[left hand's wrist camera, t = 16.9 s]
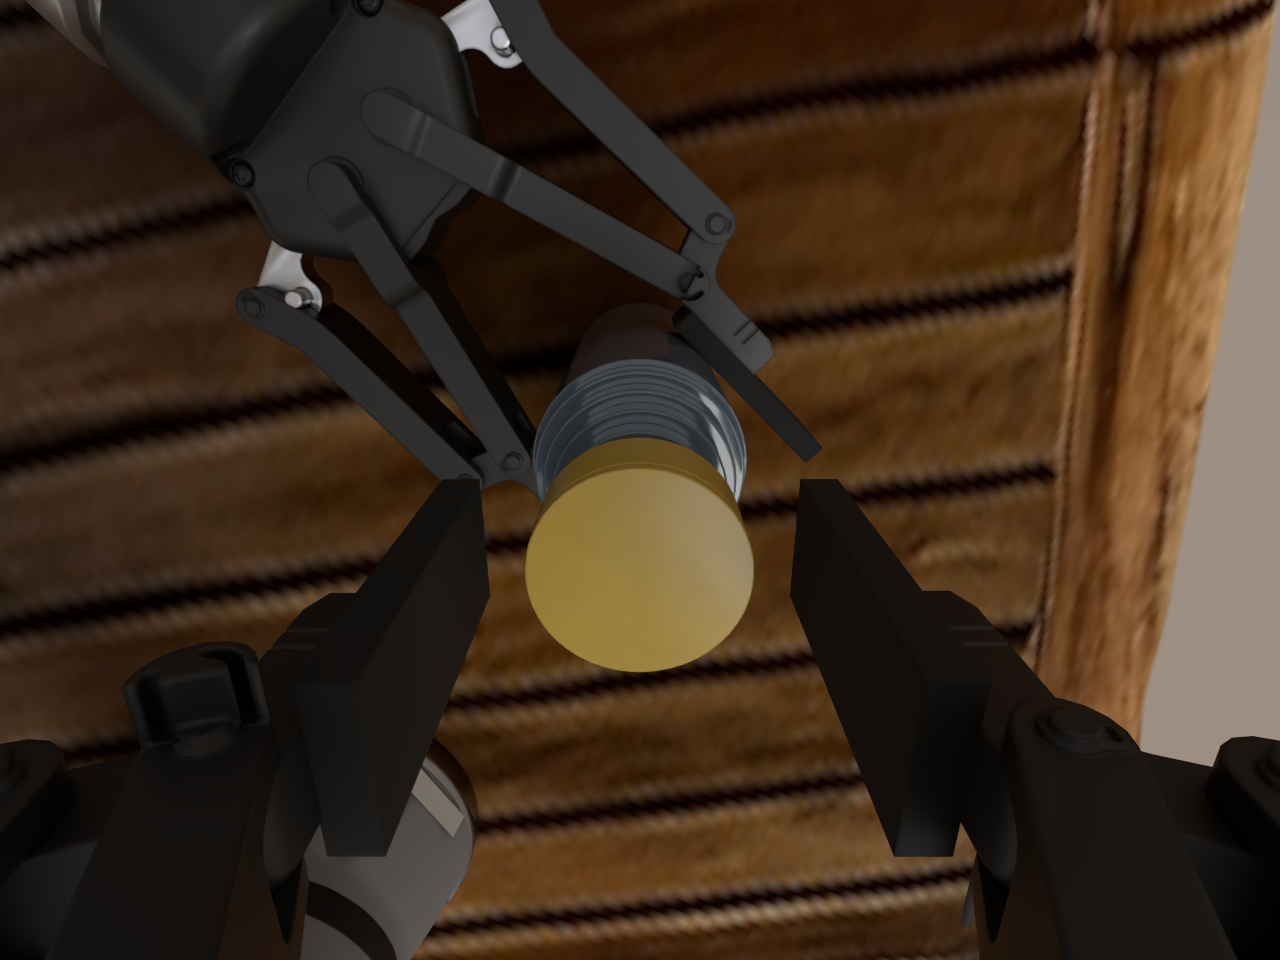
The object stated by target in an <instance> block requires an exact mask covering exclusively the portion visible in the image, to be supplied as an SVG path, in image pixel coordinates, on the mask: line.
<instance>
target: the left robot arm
mask: <svg viewBox="0 0 1280 960" xmlns="http://www.w3.org/2000/svg"><path fill="white" fill-rule="evenodd" d="M489 597H490V590H489V579H488V568H487V557H486V545H485V534H484V523H483V512H482V501H481V490H480V479H442V481H441V482H440V483H439V485H438V486H437V487H436V488H435V490H434V491H433V492H432V494H431V495H430V496H429V498H428V499H427V500H426V502H425V503H424V504H423V506H422V507H421V508H420V510H419V511H418V512H417V513H416V515H415V516H414V517H413V519H412V520H411V521H410V523H409V524H408V525H407V527H406V528H405V529H404V531H403V532H402V533H401V534H400V536H399V537H398V538H397V540H396V541H395V542H394V544H393V545H392V546H391V548H390V549H389V550H388V552H387V553H386V554H385V556H384V557H383V558H382V559H381V561H380V562H379V563H378V565H377V566H376V567H375V569H374V570H373V571H372V573H371V574H370V575H369V577H368V578H367V579H366V581H365V582H364V583H363V584H362V586H361V587H360V588H359V590H358V591H357V592H356V593H330V594H328V595H326V596H325V597H323V598H321V599H320V600H318V601H317V602H315V603H313V604H312V605H310V606H309V607H307V608H305V609H304V610H303V611H302V612H301V613H300V614H299V615H298V617H297V618H296V619H295V620H294V621H293V622H292V624H291V625H290V626H289V627H288V628H287V632H286V633H283V634H282V635H281V636H280V637H279V639H278V640H277V641H276V642H275V643H274V644H273V648H272V650H268V651H267V652H266V654H265V655H264V656H263V657H262V658H261V659H260V661H259V662H258V659H257V655H256V652H255V651H254V650H252V649H251V648H250V647H248V646H247V645H246V644H241V643H235V642H229V641H224V642H210V643H202V644H198V645H195V646H191V647H187V648H183V649H179V650H177V651H174V652H172V653H170V654H167V655H165V656H162V657H160V658H158V659H155V660H154V661H152V662H151V663H149V664H148V665H146V666H144V667H143V668H141V669H140V670H138V671H137V672H135V673H134V674H133V675H132V676H131V677H130V679H129V680H128V681H127V682H126V683H125V684H124V685H123V686H122V691H123V694H124V697H125V700H126V703H127V706H128V709H129V712H130V715H131V719H132V722H133V725H134V728H135V731H136V734H137V737H138V740H139V743H140V746H141V749H140V752H139V754H138V755H135V756H131V757H127V758H122V759H117V760H113V761H108V762H103V763H99V764H94V765H89V766H85V767H80V768H75V769H71V770H68V767H67V765H66V762H65V759H64V757H63V754H62V751H61V749H60V748H59V747H57V746H56V745H55V744H53V743H52V742H50V741H45V740H33V739H27V740H21V741H15V742H9V743H3V744H0V960H411V958H412V957H413V955H414V954H415V952H416V951H417V949H418V947H419V946H420V944H421V943H422V941H423V940H424V938H425V937H426V935H427V934H428V932H429V930H430V929H431V927H432V926H433V924H434V922H435V921H436V919H437V918H438V916H439V914H440V913H441V911H442V910H443V908H444V907H445V906H446V905H447V903H448V902H449V901H450V899H451V898H452V897H453V896H454V894H455V893H456V892H457V890H458V889H459V887H460V886H461V884H462V882H463V880H464V878H465V876H466V874H467V871H468V868H469V865H470V861H471V857H472V853H473V849H474V846H475V842H476V838H477V833H478V810H477V804H476V800H475V797H474V794H473V791H472V789H471V787H470V784H469V782H468V780H467V779H466V777H465V775H464V774H463V772H462V771H461V769H460V768H459V767H458V765H457V764H456V763H455V761H454V760H453V759H452V758H451V757H450V756H449V755H448V754H447V753H446V752H445V751H444V750H443V749H442V748H441V747H440V746H439V745H437V744H436V743H435V742H434V741H432V740H433V737H434V735H435V732H436V729H437V727H438V724H439V722H440V719H441V717H442V714H443V712H444V709H445V707H446V704H447V702H448V699H449V697H450V694H451V692H452V689H453V687H454V684H455V682H456V679H457V677H458V674H459V672H460V669H461V667H462V664H463V662H464V659H465V657H466V654H467V652H468V649H469V647H470V644H471V642H472V639H473V637H474V634H475V632H476V629H477V627H478V624H479V622H480V619H481V617H482V614H483V612H484V609H485V607H486V604H487V602H488V599H489ZM790 597H791V599H792V602H793V604H794V607H795V609H796V612H797V614H798V617H799V619H800V622H801V624H802V627H803V629H804V632H805V634H806V637H807V639H808V642H809V644H810V647H811V649H812V652H813V654H814V657H815V659H816V662H817V664H818V667H819V669H820V672H821V674H822V677H823V679H824V682H825V684H826V687H827V689H828V692H829V694H830V697H831V699H832V702H833V704H834V707H835V709H836V712H837V714H838V717H839V719H840V722H841V724H842V727H843V729H844V732H845V735H846V737H847V740H848V742H849V745H850V747H851V750H852V752H853V755H854V757H855V760H856V762H857V765H858V767H859V770H860V772H861V775H862V777H863V780H864V782H865V785H866V787H867V790H868V792H869V795H870V797H871V800H872V802H873V805H874V807H875V810H876V812H877V815H878V817H879V820H880V822H881V825H882V827H883V830H884V832H885V835H886V837H887V840H888V842H889V845H890V847H891V850H892V852H893V855H894V857H953V854H954V849H955V845H956V840H957V836H958V831H959V827H960V822H961V823H962V825H963V827H964V829H965V831H966V833H967V834H968V836H969V838H970V840H971V842H972V844H973V846H974V848H975V850H976V851H977V853H976V857H975V862H974V866H973V870H972V874H971V878H970V883H969V887H968V891H967V895H966V900H965V904H964V908H963V913H962V920H961V926H965V927H968V928H970V927H971V923H972V919H973V915H974V912H975V920H976V929H977V938H978V946H979V955H980V960H1280V741H1278V740H1272V739H1266V738H1260V737H1255V736H1248V737H1235V738H1231V739H1229V740H1228V741H1227V742H1225V743H1224V744H1222V745H1221V746H1220V749H1219V751H1218V754H1217V757H1216V759H1215V762H1214V765H1213V767H1210V766H1205V765H1200V764H1196V763H1191V762H1186V761H1182V760H1177V759H1172V758H1167V757H1163V756H1158V755H1153V754H1149V753H1146V752H1142V751H1141V750H1140V748H1139V746H1138V745H1137V744H1136V742H1135V741H1134V740H1133V738H1132V737H1131V736H1130V734H1129V733H1128V732H1127V731H1126V730H1125V729H1123V728H1122V727H1121V726H1119V725H1118V724H1117V723H1116V722H1114V721H1113V720H1112V719H1110V718H1109V717H1107V716H1105V715H1103V714H1101V713H1099V712H1097V711H1095V710H1093V709H1091V708H1089V707H1087V706H1085V705H1081V704H1078V703H1075V702H1071V701H1068V700H1064V699H1061V698H1055V697H1054V695H1053V694H1052V693H1051V692H1050V691H1049V690H1048V689H1047V687H1046V686H1045V685H1044V684H1043V683H1042V682H1041V680H1040V679H1039V678H1038V677H1037V676H1036V675H1035V674H1034V672H1033V671H1032V670H1031V669H1030V668H1029V667H1028V666H1027V664H1026V663H1025V662H1024V661H1023V660H1022V659H1021V657H1020V656H1019V655H1018V654H1017V653H1016V652H1015V651H1014V649H1013V648H1012V647H1008V642H1007V641H1006V640H1005V639H1004V638H1003V637H1002V636H1001V634H1000V633H999V632H998V631H994V626H993V625H992V624H991V623H990V622H989V621H988V619H987V618H986V617H985V616H984V615H983V614H982V613H981V611H980V610H979V609H978V608H977V607H976V606H974V605H972V604H971V603H969V602H967V601H966V600H964V599H963V598H961V597H959V596H958V595H956V594H954V593H953V592H951V591H922V590H921V588H920V587H919V586H918V584H917V583H916V582H915V581H914V579H913V578H912V577H911V575H910V574H909V573H908V571H907V570H906V569H905V567H904V566H903V565H902V563H901V562H900V561H899V559H898V558H897V557H896V556H895V554H894V553H893V552H892V550H891V549H890V548H889V546H888V545H887V544H886V542H885V541H884V540H883V538H882V537H881V536H880V534H879V533H878V532H877V531H876V529H875V528H874V527H873V525H872V524H871V523H870V521H869V520H868V519H867V517H866V516H865V515H864V513H863V512H862V511H861V510H860V508H859V507H858V506H857V504H856V503H855V502H854V500H853V499H852V498H851V496H850V495H849V494H848V492H847V491H846V490H845V488H844V487H843V486H842V485H841V483H840V482H839V481H838V479H800V490H799V501H798V512H797V523H796V534H795V545H794V557H793V568H792V579H791V590H790Z"/></svg>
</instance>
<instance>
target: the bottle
mask: <svg viewBox="0 0 1280 960" xmlns="http://www.w3.org/2000/svg"><path fill="white" fill-rule="evenodd" d="M674 314H675V313H674V312H672V311H671V310H669V309H666V308H664V307H662V306H658V305H655V304H649V303H631V304H625V305H621V306H618V307H616V308H613V309H611V310H609V311H607V312H606V313H604V314H602V315H601V316H600V317H598V318H597V319H596V320H595V321H594V322H593V323H592V324H591V325H590V326H589V327H588V329H587V330H586V331H585V333H584V335H583V336H582V338H581V340H580V342H579V344H578V346H577V348H576V350H575V352H574V354H573V356H572V358H571V360H570V362H569V364H568V366H567V368H566V370H565V372H564V374H563V376H562V379H561V381H560V383H559V385H558V387H557V389H556V391H555V393H554V395H553V397H552V399H551V401H550V403H549V405H548V407H547V409H546V411H545V413H544V415H543V417H542V419H541V422H540V424H539V427H538V429H537V433H536V437H535V441H534V447H533V473H534V478H535V484H536V487H537V492H538V495H539V498H540V501H541V504H542V502H543V500H544V498H545V495H546V493H547V491H548V489H549V487H550V486H551V484H552V482H553V481H554V479H555V478H556V477H557V476H558V475H559V473H560V472H561V471H562V470H563V469H564V468H565V467H566V466H567V465H568V464H569V463H570V462H571V461H573V460H574V459H575V458H577V457H578V456H580V455H581V454H583V453H584V452H586V451H588V450H590V449H592V448H594V447H596V446H599V445H602V444H605V443H607V442H611V441H616V440H620V439H628V438H652V439H659V440H665V441H668V442H672V443H675V444H678V445H680V446H683V447H685V448H687V449H690V450H691V451H693V452H695V453H696V454H698V455H700V456H701V457H703V458H704V459H705V460H706V461H708V462H709V463H710V464H711V465H713V467H714V468H715V469H716V470H717V471H718V472H719V473H720V474H721V475H722V476H723V478H724V479H725V481H726V482H727V483H728V485H729V487H730V488H731V490H732V492H733V494H734V496H735V499H736V502H737V505H738V502H739V499H740V496H741V493H742V488H743V485H744V481H745V476H746V467H747V452H746V444H745V439H744V434H743V431H742V428H741V426H740V423H739V420H738V418H737V416H736V414H735V412H734V410H733V408H732V406H731V404H730V402H729V400H728V398H727V396H726V394H725V392H724V390H723V388H722V386H721V384H720V382H719V380H718V377H717V375H716V373H715V371H714V369H713V367H712V366H711V365H710V364H709V363H708V362H707V361H706V360H705V359H704V358H703V357H702V356H701V355H700V354H699V353H698V352H697V351H696V350H695V349H694V348H693V347H692V346H691V345H690V344H689V343H688V342H687V341H686V340H685V338H684V337H683V336H682V335H681V334H680V333H679V332H678V331H677V330H676V329H675V328H674V325H673V322H672V318H671V317H672V316H673V315H674Z"/></svg>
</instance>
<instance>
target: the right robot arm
mask: <svg viewBox="0 0 1280 960" xmlns="http://www.w3.org/2000/svg"><path fill="white" fill-rule="evenodd" d="M25 1H26V2H27V3H28V4H29V5H31V6H32V7H33V8H34V9H35V10H36V11H37V12H38V13H39V14H40V15H42V16H43V17H44V18H45V19H46V20H47V21H48V22H49V23H50V24H51V25H53V26H54V27H55V28H56V29H57V30H58V31H59V32H60V33H61V34H62V35H64V36H65V37H66V38H67V39H68V40H69V41H70V42H71V43H72V44H73V45H75V46H76V47H77V48H78V49H79V50H80V51H81V52H83V53H84V54H85V55H86V56H87V57H89V58H90V59H91V60H92V61H93V62H95V63H97V64H100V65H102V66H104V67H107V68H109V69H110V71H111V73H112V75H113V76H114V78H115V80H116V81H117V82H118V83H119V84H120V86H121V87H122V88H123V89H124V90H125V91H127V92H128V93H129V94H130V95H131V96H132V97H133V98H134V99H136V100H137V101H138V102H139V103H140V104H141V105H142V106H143V107H144V108H146V109H147V110H148V111H149V112H150V113H151V114H152V115H153V116H155V117H156V118H157V119H158V120H159V121H160V122H161V123H162V124H164V125H165V126H166V127H167V128H168V129H169V130H170V131H171V132H172V133H174V134H175V135H176V136H177V137H178V138H179V139H180V140H181V141H183V142H184V143H185V144H186V145H187V146H188V147H189V148H190V149H191V150H193V151H194V152H195V153H196V154H197V155H198V156H199V157H200V158H202V159H203V160H204V161H205V162H206V163H207V164H208V165H209V166H211V167H212V168H213V169H214V170H215V171H216V172H218V173H219V174H220V175H221V176H222V177H224V178H225V179H226V180H227V181H229V182H230V183H231V184H232V185H234V186H235V187H236V188H237V189H238V190H240V191H241V192H242V193H243V195H244V196H245V197H246V198H247V200H248V201H249V202H250V204H251V205H252V207H253V209H254V211H255V212H256V214H257V217H258V219H259V221H260V223H261V226H262V228H263V229H264V231H265V233H266V234H267V235H268V236H269V237H270V238H271V240H272V242H271V245H270V248H269V251H268V254H267V258H266V261H265V264H264V267H263V270H262V273H261V276H260V279H259V282H258V285H257V286H256V287H252V288H246V289H244V290H243V291H241V292H240V293H239V294H238V296H237V298H236V308H237V312H238V314H239V315H240V316H241V318H242V319H243V320H244V321H246V322H247V323H248V324H250V325H252V326H254V327H256V328H258V329H260V330H262V331H264V332H266V333H268V334H270V335H272V336H274V337H276V338H278V339H281V340H283V341H285V342H287V343H289V344H291V345H293V346H295V347H297V348H299V349H300V350H301V351H302V352H303V353H304V354H305V355H306V356H307V357H309V358H310V359H311V360H312V361H313V362H314V363H315V364H316V365H317V366H318V367H319V368H320V369H321V370H322V371H323V372H325V373H326V374H327V375H328V376H329V377H330V378H331V379H332V380H333V381H334V382H335V383H336V384H337V385H338V386H339V387H341V388H342V389H343V390H344V391H345V392H346V393H347V394H348V395H349V396H350V397H351V398H352V399H353V400H354V401H355V402H357V403H358V404H359V405H360V406H361V407H362V408H363V409H364V410H365V411H366V412H367V413H368V414H369V415H370V416H371V417H373V418H374V419H375V420H376V421H377V422H378V423H379V424H380V425H381V426H382V427H383V428H384V429H385V430H386V431H387V432H389V433H390V434H391V435H392V436H393V437H394V438H395V439H396V440H397V441H398V442H399V443H400V444H401V445H402V446H403V447H405V448H406V449H407V450H408V451H409V452H410V453H411V454H412V455H413V456H414V457H415V458H416V459H417V460H418V461H419V462H421V463H422V464H423V465H424V466H425V467H426V468H427V469H428V470H429V471H430V472H431V473H432V474H433V475H434V476H435V477H436V478H438V479H439V480H440V481H442V479H480V490H481V491H482V490H484V489H486V488H488V487H490V486H493V485H495V484H497V483H499V482H502V481H508V480H511V481H516V482H519V483H521V484H523V485H524V486H525V487H527V488H528V489H529V490H530V491H531V492H532V493H533V494H535V495H536V496H537V497H538V498H539V495H538V492H537V487H536V484H535V478H534V473H533V447H534V441H535V437H536V433H537V431H536V429H535V428H534V426H533V424H532V423H531V421H530V420H529V418H528V416H527V415H526V413H525V411H524V410H523V408H522V406H521V405H520V403H519V402H518V400H517V398H516V397H515V395H514V393H513V392H512V390H511V388H510V387H509V385H508V384H507V382H506V380H505V379H504V377H503V375H502V374H501V372H500V370H499V369H498V367H497V365H496V364H495V362H494V361H493V359H492V357H491V356H490V354H489V352H488V351H487V349H486V347H485V346H484V344H483V343H482V341H481V339H480V338H479V336H478V334H477V333H476V331H475V329H474V328H473V326H472V325H471V323H470V321H469V320H468V318H467V316H466V315H465V313H464V311H463V310H462V308H461V306H460V305H459V303H458V302H457V300H456V298H455V297H454V295H453V293H452V292H451V290H450V288H449V287H448V284H447V280H446V276H445V274H444V272H443V270H442V268H441V266H440V265H439V263H438V261H437V260H436V258H435V256H434V255H433V252H434V250H435V249H436V248H437V247H438V246H439V244H440V243H441V242H442V241H443V238H444V236H445V234H446V232H447V229H448V227H449V225H450V223H451V221H452V219H453V218H454V217H456V216H457V215H459V214H460V213H462V212H463V211H465V210H466V209H468V208H469V207H471V206H472V205H473V204H474V203H475V202H476V201H477V199H478V198H479V197H480V196H481V195H482V193H483V194H485V195H487V196H488V197H490V198H493V199H495V200H497V201H499V202H501V203H503V204H505V205H507V206H509V207H511V208H513V209H514V210H516V211H518V212H520V213H522V214H524V215H525V216H527V217H529V218H531V219H533V220H535V221H536V222H538V223H540V224H542V225H544V226H546V227H547V228H549V229H551V230H553V231H555V232H557V233H558V234H560V235H562V236H564V237H566V238H568V239H569V240H571V241H573V242H575V243H577V244H579V245H580V246H582V247H584V248H586V249H588V250H590V251H591V252H593V253H595V254H597V255H599V256H601V257H602V258H604V259H606V260H608V261H610V262H611V263H613V264H615V265H617V266H619V267H621V268H622V269H624V270H626V271H628V272H630V273H632V274H633V275H635V276H637V277H639V278H641V279H643V280H644V281H646V282H648V283H650V284H652V285H654V286H655V287H657V288H659V289H661V290H663V291H665V292H666V293H668V294H670V295H672V296H674V297H676V298H677V299H679V300H680V301H681V303H683V304H684V305H683V306H682V307H681V308H680V309H679V310H678V311H677V312H676V313H675V314H674V315H673V316H672V317H671V318H672V322H673V325H674V328H675V329H676V330H677V331H678V332H679V333H680V334H681V335H682V336H683V337H684V338H685V340H686V341H687V342H688V343H689V344H690V345H691V346H692V347H693V348H694V349H695V350H696V351H697V352H698V353H699V354H700V355H701V356H702V357H703V358H704V359H705V360H706V361H707V362H708V363H709V364H710V365H711V366H712V367H713V368H714V369H715V370H716V371H717V372H718V373H719V374H720V375H721V376H722V377H723V379H724V380H725V381H726V382H727V383H728V384H729V385H730V386H731V387H732V388H733V389H734V390H735V391H736V392H737V393H738V394H739V395H740V396H741V397H742V398H743V399H744V400H745V401H746V402H747V403H748V404H749V405H750V406H751V407H752V408H753V409H754V410H755V411H756V412H757V413H758V414H759V415H760V417H761V418H762V419H763V420H764V421H765V422H766V423H767V424H768V425H769V426H770V427H771V428H772V429H773V430H774V431H775V432H776V433H777V434H778V435H779V436H780V437H781V438H782V439H783V440H784V441H785V442H786V443H787V444H788V445H789V446H790V447H791V448H792V449H793V450H794V451H795V452H796V453H797V454H798V456H799V457H800V458H801V459H802V460H803V461H804V462H805V463H806V462H807V461H809V460H810V459H811V458H812V457H813V456H814V455H816V454H817V453H818V452H819V451H820V450H821V449H822V447H821V446H820V444H819V443H818V442H817V441H816V439H815V438H814V437H813V436H812V434H811V433H810V432H809V431H808V429H807V428H806V427H805V426H804V425H803V424H802V423H801V422H800V421H799V419H798V418H797V417H796V416H795V415H794V414H793V413H792V412H791V411H790V410H789V409H788V408H787V407H786V406H785V405H784V404H783V403H782V402H781V401H780V400H779V399H778V397H777V396H776V395H775V394H774V393H773V392H772V391H771V390H770V389H769V388H768V387H767V386H766V385H765V384H764V383H763V382H762V381H761V380H760V379H759V378H758V377H757V375H756V373H757V372H758V371H759V370H760V369H761V368H762V367H763V366H764V365H765V364H767V363H768V362H769V361H770V360H771V359H772V358H773V357H774V356H775V354H774V351H773V348H772V345H771V343H770V340H769V339H768V338H767V337H766V336H765V335H764V334H763V333H762V332H761V331H760V330H759V329H758V327H757V326H756V325H755V324H754V323H753V322H752V321H751V320H750V319H749V318H748V317H747V316H746V315H745V313H744V312H743V311H742V310H741V309H740V308H739V307H738V306H737V305H736V304H735V303H734V302H733V301H732V300H731V298H730V297H729V296H728V295H727V294H726V293H725V292H724V291H723V290H722V288H721V287H720V286H719V284H718V281H717V278H716V267H717V264H718V261H719V259H720V257H721V255H722V253H723V250H724V248H725V246H726V244H727V242H728V240H729V239H730V238H731V237H732V235H733V233H734V232H735V228H736V219H735V215H734V213H733V212H732V210H731V209H730V208H729V207H728V206H727V205H726V204H725V203H724V202H723V201H722V200H721V199H720V198H719V197H718V196H717V195H716V194H715V193H714V192H713V191H712V190H711V189H710V188H709V187H708V186H707V185H706V184H705V183H704V182H703V181H702V180H701V179H700V178H699V177H698V176H697V175H696V174H695V173H694V172H693V171H692V170H691V169H690V168H689V167H688V166H687V165H686V164H685V163H684V162H683V161H682V160H681V159H680V158H679V157H678V156H677V155H676V154H675V153H674V152H673V151H672V150H671V149H670V148H669V147H668V146H667V145H666V144H665V143H664V142H663V141H662V140H661V139H660V138H659V137H658V136H657V135H656V134H655V133H654V132H653V131H652V130H651V129H650V128H649V127H648V126H647V125H646V124H645V123H644V122H643V121H642V120H641V119H640V118H639V117H638V116H637V115H636V114H635V113H634V112H633V111H632V110H631V109H630V108H629V107H628V106H627V105H626V104H625V103H624V102H623V101H621V100H620V99H619V98H618V97H617V96H616V95H615V94H614V93H613V92H612V91H611V90H610V89H609V88H608V87H607V86H606V85H605V84H604V83H603V82H602V81H601V80H600V79H599V78H598V77H597V76H596V75H595V74H594V73H593V72H592V71H591V70H590V69H589V68H588V67H587V66H586V65H585V64H584V63H583V62H582V61H581V60H580V59H579V58H578V57H577V56H576V55H575V54H574V53H573V52H572V51H571V50H570V49H569V48H568V47H567V46H566V45H565V44H564V43H563V42H562V41H561V40H560V39H559V38H558V37H557V36H556V35H555V33H554V31H553V29H552V27H551V25H550V23H549V21H548V19H547V17H546V15H545V13H544V11H543V9H542V7H541V5H540V3H539V1H538V0H466V1H465V2H463V3H462V4H460V5H459V6H457V7H456V8H455V9H453V10H452V11H450V12H449V13H447V14H446V15H444V16H443V17H441V18H440V17H439V16H438V15H436V14H435V13H433V12H431V11H429V10H427V9H425V8H421V7H418V6H415V5H412V4H409V3H407V2H405V1H403V0H25ZM475 55H481V56H485V57H487V58H489V59H490V60H491V61H492V62H493V63H494V64H495V65H496V66H497V67H498V68H499V69H500V70H501V71H503V72H505V73H508V74H517V73H519V72H521V71H523V70H524V69H526V68H528V69H529V71H530V72H531V73H532V75H533V76H534V77H535V79H536V80H537V81H538V83H539V84H540V85H541V87H542V88H543V89H544V90H545V91H546V92H547V93H548V94H549V95H550V96H551V97H552V98H553V99H554V100H555V101H556V102H557V103H558V104H559V105H560V106H561V107H562V108H563V109H564V110H565V111H566V112H567V113H568V114H569V115H570V116H571V117H572V118H573V119H574V120H575V121H576V122H577V123H578V124H580V125H581V126H582V127H583V128H584V129H585V130H586V131H587V132H588V133H589V134H590V135H591V136H592V137H593V138H594V139H595V140H596V141H597V142H598V143H599V144H600V145H601V146H602V147H603V148H604V149H605V150H607V151H608V152H609V153H610V154H611V155H612V156H613V157H614V158H615V159H616V160H617V161H618V162H619V163H620V164H621V165H622V166H623V167H624V168H625V169H626V170H627V171H628V172H629V173H630V174H631V175H632V176H634V177H635V178H636V179H637V180H638V181H639V182H640V183H641V184H642V185H643V186H644V187H645V188H646V189H647V190H648V191H649V192H650V193H651V194H652V195H653V196H654V197H655V198H656V199H657V200H658V201H660V202H661V203H662V204H663V205H664V206H665V207H666V208H667V209H668V210H669V211H670V212H671V213H672V214H673V215H674V216H675V217H676V218H677V219H678V220H679V221H680V222H681V223H682V224H683V225H684V226H685V227H687V228H688V231H687V234H686V236H685V238H684V240H683V242H682V244H681V247H680V249H679V251H678V252H676V251H675V250H673V249H671V248H669V247H668V246H666V245H664V244H662V243H660V242H659V241H657V240H655V239H653V238H651V237H650V236H648V235H646V234H644V233H642V232H641V231H639V230H637V229H635V228H634V227H632V226H630V225H628V224H626V223H625V222H623V221H621V220H619V219H617V218H616V217H614V216H612V215H610V214H609V213H607V212H605V211H603V210H601V209H600V208H598V207H596V206H594V205H592V204H591V203H589V202H587V201H585V200H583V199H582V198H580V197H578V196H576V195H575V194H573V193H571V192H569V191H567V190H566V189H564V188H562V187H560V186H558V185H557V184H555V183H553V182H551V181H549V180H548V179H546V178H544V177H542V176H541V175H539V174H537V173H535V172H533V171H532V170H530V169H528V168H527V167H525V166H523V165H521V164H519V163H518V162H516V161H514V160H512V159H511V158H509V157H507V156H505V155H503V154H502V153H500V152H498V151H496V150H494V149H493V148H491V147H489V146H487V145H486V144H485V139H484V135H483V130H482V125H481V121H480V116H479V112H478V107H477V103H476V98H475V93H474V89H473V84H472V80H471V75H470V70H469V66H468V61H467V59H468V58H470V57H472V56H475ZM314 256H318V257H325V258H331V259H337V260H343V261H350V262H356V263H360V265H361V266H362V268H363V269H364V271H365V273H366V274H367V276H368V277H369V279H370V280H371V282H372V283H373V285H374V286H375V288H376V290H377V291H378V293H379V294H380V296H381V297H382V298H383V300H384V301H385V302H386V303H387V304H388V305H390V306H391V307H393V308H394V309H395V310H396V311H397V312H398V313H399V315H400V316H401V318H402V320H403V321H404V323H405V324H406V326H407V327H408V329H409V330H410V332H411V334H412V335H413V337H414V338H415V340H416V341H417V343H418V344H419V346H420V347H421V349H422V351H423V352H424V354H425V355H426V357H427V358H428V360H429V361H430V363H431V365H432V366H433V368H434V369H435V371H436V372H437V374H438V375H439V377H440V379H441V380H442V382H443V383H444V385H445V386H446V388H447V389H448V391H449V393H450V394H451V396H452V397H453V399H454V400H455V402H456V403H457V405H458V406H459V408H460V410H461V411H462V413H463V414H464V416H465V417H466V419H467V420H468V422H469V424H470V425H471V427H472V428H473V430H474V431H475V433H476V434H477V436H478V437H477V436H476V435H475V434H474V433H473V432H472V431H471V430H470V429H469V428H468V427H466V426H465V425H464V424H463V423H462V422H461V421H460V420H459V419H458V418H457V417H456V416H455V415H454V414H453V413H452V412H451V411H450V410H449V409H448V408H447V407H446V406H445V405H444V404H443V403H442V402H441V401H440V400H439V399H438V398H437V397H436V396H435V395H434V394H433V393H432V392H431V391H430V390H429V389H428V388H427V387H426V386H425V385H424V384H423V383H422V382H421V381H420V380H419V379H417V378H416V377H415V376H414V375H413V374H412V373H411V372H410V371H409V370H408V369H407V368H406V367H405V366H404V365H403V364H402V363H401V362H400V361H399V360H398V359H397V358H396V357H395V356H394V355H393V354H392V353H391V352H390V351H389V350H388V349H387V348H386V347H385V346H384V345H383V344H382V343H381V342H380V341H379V340H378V339H377V338H376V337H375V336H374V335H373V334H372V333H371V332H370V331H369V330H367V329H366V328H365V327H364V326H363V325H362V324H361V323H360V322H359V321H358V320H357V319H356V318H354V317H353V316H352V315H351V314H349V313H348V312H347V311H345V310H344V309H343V308H341V307H340V306H338V305H336V304H334V303H333V291H332V289H331V287H330V286H329V284H328V283H327V282H326V281H325V280H323V279H322V278H321V277H320V276H319V275H318V273H317V272H316V270H315V268H314V264H313V257H314ZM539 499H540V498H539Z"/></svg>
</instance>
